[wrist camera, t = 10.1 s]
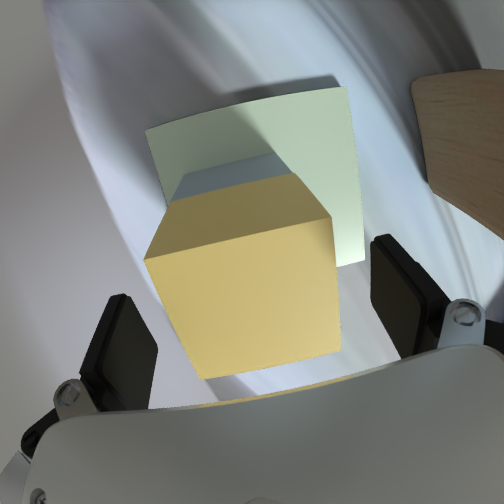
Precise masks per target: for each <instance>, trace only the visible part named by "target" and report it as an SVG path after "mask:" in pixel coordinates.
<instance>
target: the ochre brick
mask: <svg viewBox="0 0 504 504" xmlns="http://www.w3.org/2000/svg"><path fill="white" fill-rule="evenodd" d="M143 261H144V263H145V265H146V268H147V270H148V272H149V275H150V277H151V279H152V282H153V284H154V286H155V288H156V291H157V293H158V295H159V297H160V299H161V302H162V304H163V306H164V308H165V310H166V312H167V314H168V317H169V319H170V321H171V323H172V325H173V327H174V329H175V331H176V333H177V335H178V337H179V339H180V341H181V343H182V345H183V347H184V349H185V351H186V353H187V355H188V357H189V359H190V361H191V363H192V365H193V366H194V368H195V370H196V372H197V374H198V376H199V378H200V379H208V378H214V377H220V376H227V375H232V374H238V373H244V372H249V371H254V370H260V369H265V368H270V367H274V366H279V365H284V364H288V363H293V362H297V361H301V360H306V359H310V358H314V357H318V356H322V355H326V354H330V353H333V352H337V351H341V334H340V312H339V294H338V279H337V266H336V254H335V243H334V233H333V224H332V217H331V215H330V214H329V213H328V212H327V210H326V209H325V208H324V207H323V205H322V204H321V203H320V202H319V201H318V199H317V198H316V197H315V196H314V194H313V193H312V192H311V191H310V190H309V189H308V187H307V186H306V185H305V184H304V183H303V181H302V180H301V179H300V178H299V177H298V176H297V174H296V173H290V174H285V175H280V176H275V177H271V178H266V179H261V180H257V181H252V182H248V183H244V184H239V185H235V186H231V187H227V188H222V189H218V190H214V191H210V192H206V193H202V194H198V195H194V196H190V197H187V198H183V199H179V200H175V201H172V202H170V204H169V206H168V208H167V210H166V212H165V215H164V217H163V219H162V221H161V223H160V225H159V227H158V229H157V231H156V233H155V235H154V238H153V240H152V242H151V244H150V246H149V248H148V251H147V253H146V255H145V257H144V260H143Z"/></svg>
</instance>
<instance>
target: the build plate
mask: <svg viewBox="0 0 504 504" xmlns="http://www.w3.org/2000/svg"><path fill="white" fill-rule="evenodd" d="M145 134H146V138H147V141H148V144H149V148H150V151H151V154H152V158H153V161H154V164H155V167H156V170H157V174H158V177H159V180H160V183H161V186H162V189H163V192H164V195H165V198H166V201H167V204H168V206H169V203H170V201H171V199H172V197H173V195H174V193H175V191H176V189H177V187H178V185H179V183H180V182H181V180H182V178H183V176H184V175H185V174H188V173H192V172H196V171H199V170H203V169H207V168H211V167H215V166H219V165H223V164H227V163H231V162H235V161H239V160H243V159H248V158H252V157H256V156H261V155H265V154H270V153H275V152H276V154H277V155H278V156H279V157H280V158H281V159H282V161H283V162H284V163H285V164H286V165H287V166H288V168H289V169H290V170H291V171H292V172H293V173H296V174H297V176H298V177H299V178H300V179H301V180H302V181H303V183H304V184H305V185H306V186H307V187H308V189H309V190H310V191H311V192H312V193H313V194H314V196H315V197H316V198H317V199H318V201H319V202H320V203H321V204H322V205H323V207H324V208H325V209H326V210H327V212H328V213H329V214H330V215H331V217H332V224H333V233H334V243H335V254H336V266H337V267H338V266H342V265H346V264H350V263H354V262H358V261H362V260H365V251H364V231H363V216H362V202H361V191H360V181H359V171H358V162H357V154H356V146H355V139H354V132H353V125H352V118H351V112H350V106H349V100H348V94H347V89H346V87H334V88H326V89H318V90H311V91H304V92H298V93H291V94H285V95H280V96H274V97H269V98H264V99H259V100H254V101H249V102H244V103H240V104H235V105H231V106H227V107H223V108H219V109H215V110H211V111H207V112H203V113H200V114H196V115H192V116H189V117H185V118H182V119H178V120H175V121H172V122H169V123H165V124H162V125H159V126H156V127H153V128H150V129H147V130H145Z"/></svg>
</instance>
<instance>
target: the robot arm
mask: <svg viewBox="0 0 504 504" xmlns="http://www.w3.org/2000/svg"><path fill="white" fill-rule="evenodd" d="M370 254H371V291H370V298H371V303H372V306H373V308H374V309H375V311H376V313H377V315H378V316H379V318H380V320H381V322H382V324H383V325H384V327H385V329H386V331H387V333H388V335H389V336H390V338H391V340H392V342H393V344H394V346H395V348H396V350H397V351H398V353H399V355H400V357H401V360H398V361H395V362H392V363H388V364H385V365H382V366H378V367H375V368H372V369H368V370H365V371H361V372H358V373H354V374H351V375H347V376H344V377H340V378H336V379H332V380H328V381H324V382H320V383H316V384H312V385H308V386H303V387H299V388H294V389H290V390H285V391H280V392H275V393H270V394H265V395H259V396H254V397H248V398H242V399H235V400H229V401H222V402H215V403H207V404H199V405H191V406H181V407H171V408H159V409H148V404H149V398H150V393H151V387H152V381H153V376H154V370H155V365H156V359H157V354H158V347H157V343H156V342H155V340H154V338H153V336H152V335H151V333H150V331H149V329H148V328H147V326H146V324H145V322H144V321H143V319H142V317H141V315H140V313H139V311H138V310H137V308H136V306H135V304H134V302H133V301H132V298H131V297H130V296H127V295H126V294H118V295H113V296H111V297H110V298H109V301H108V303H107V305H106V307H105V310H104V312H103V314H102V316H101V319H100V321H99V323H98V326H97V328H96V331H95V333H94V335H93V338H92V340H91V343H90V345H89V348H88V350H87V353H86V356H85V358H84V361H83V363H82V366H81V369H80V371H79V373H80V375H81V378H80V380H78V379H70V380H67V381H65V382H63V383H62V384H61V385H60V386H59V387H58V389H57V390H56V392H55V394H54V398H53V401H54V406H55V408H54V409H53V410H51V411H50V412H49V413H48V414H46V415H45V416H44V417H43V418H41V419H40V420H39V421H37V422H36V423H35V424H34V425H32V426H31V427H30V428H29V429H28V430H27V431H26V432H25V433H24V435H23V437H22V440H21V449H22V452H20V451H17V452H16V453H15V455H14V456H13V457H12V459H11V460H10V462H9V463H8V464H7V466H6V467H5V468H4V470H3V471H2V472H1V474H0V501H1V502H2V504H504V324H502V323H498V322H494V321H491V320H487V319H486V316H485V311H484V310H483V308H482V307H481V306H480V305H479V304H478V303H476V302H475V301H473V300H469V299H456V300H454V301H452V302H451V300H450V299H449V298H448V297H447V296H446V294H445V293H444V292H443V291H442V289H441V288H440V287H439V286H438V285H437V284H436V282H435V281H434V280H433V279H432V278H431V277H430V275H429V274H428V273H427V272H426V271H425V270H424V268H423V267H422V266H421V265H420V264H419V263H418V262H415V261H414V259H413V258H412V257H411V256H410V255H409V254H408V253H407V252H406V251H405V250H404V248H403V247H402V246H401V245H400V244H399V243H398V242H397V241H396V240H395V239H394V238H393V237H392V236H391V235H390V234H384V235H380V236H376V237H375V238H374V241H372V242H371V244H370Z"/></svg>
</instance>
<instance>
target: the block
mask: <svg viewBox="0 0 504 504" xmlns="http://www.w3.org/2000/svg"><path fill="white" fill-rule="evenodd" d="M411 94H412V98H413V102H414V106H415V110H416V115H417V120H418V124H419V129H420V134H421V140H422V145H423V151H424V157H425V164H426V171H427V178H428V184H429V186H430V188H431V190H432V191H433V193H434V194H436V195H438V196H439V197H441V198H443V199H444V200H446V201H447V202H449V203H451V204H452V205H454V206H455V207H457V208H458V209H460V210H461V211H463V212H464V213H466V214H467V215H469V216H470V217H472V218H473V219H475V220H476V221H478V222H479V223H481V224H482V225H483V226H485V227H486V228H488V229H489V230H491V231H492V232H493V233H495V234H496V235H497V236H499V237H500V238H501V239H503V240H504V70H495V69H476V70H466V71H457V72H449V73H442V74H435V75H429V76H422V77H419V78H417V79H416V80H415V81H414V82H412V83H411Z"/></svg>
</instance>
